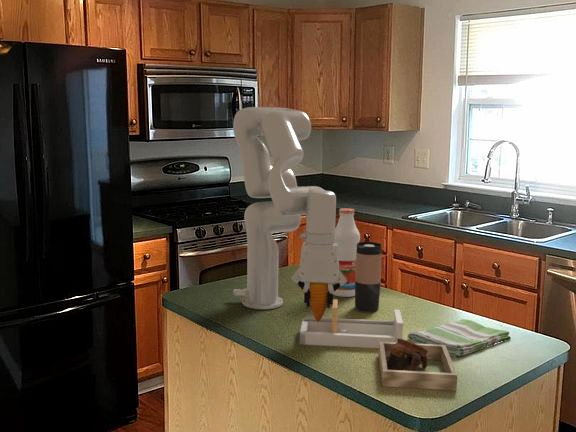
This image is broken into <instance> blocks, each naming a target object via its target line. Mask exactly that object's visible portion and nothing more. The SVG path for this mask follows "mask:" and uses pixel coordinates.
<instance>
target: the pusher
mask: <svg viewBox="0 0 576 432" xmlns="http://www.w3.org/2000/svg"><path fill="white" fill-rule="evenodd" d="M338 304H339V302H338V299H337V298H336V299H335V298H333V304H332V313H331V316H332V333H346V334H348V330H338V329H337V319H338Z"/></svg>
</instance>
